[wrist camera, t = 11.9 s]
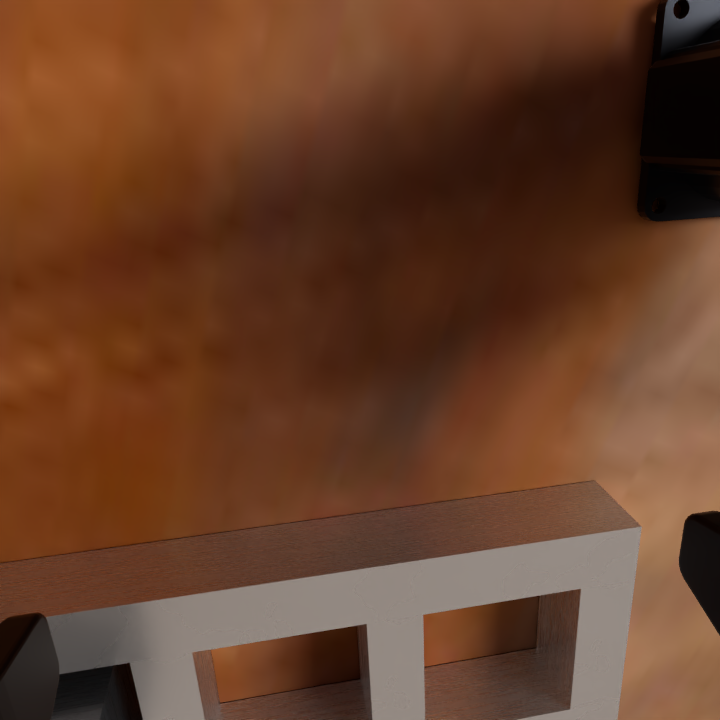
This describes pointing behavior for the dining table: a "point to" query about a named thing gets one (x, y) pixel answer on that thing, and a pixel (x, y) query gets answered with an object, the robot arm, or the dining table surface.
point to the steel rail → (358, 607)
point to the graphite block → (97, 695)
